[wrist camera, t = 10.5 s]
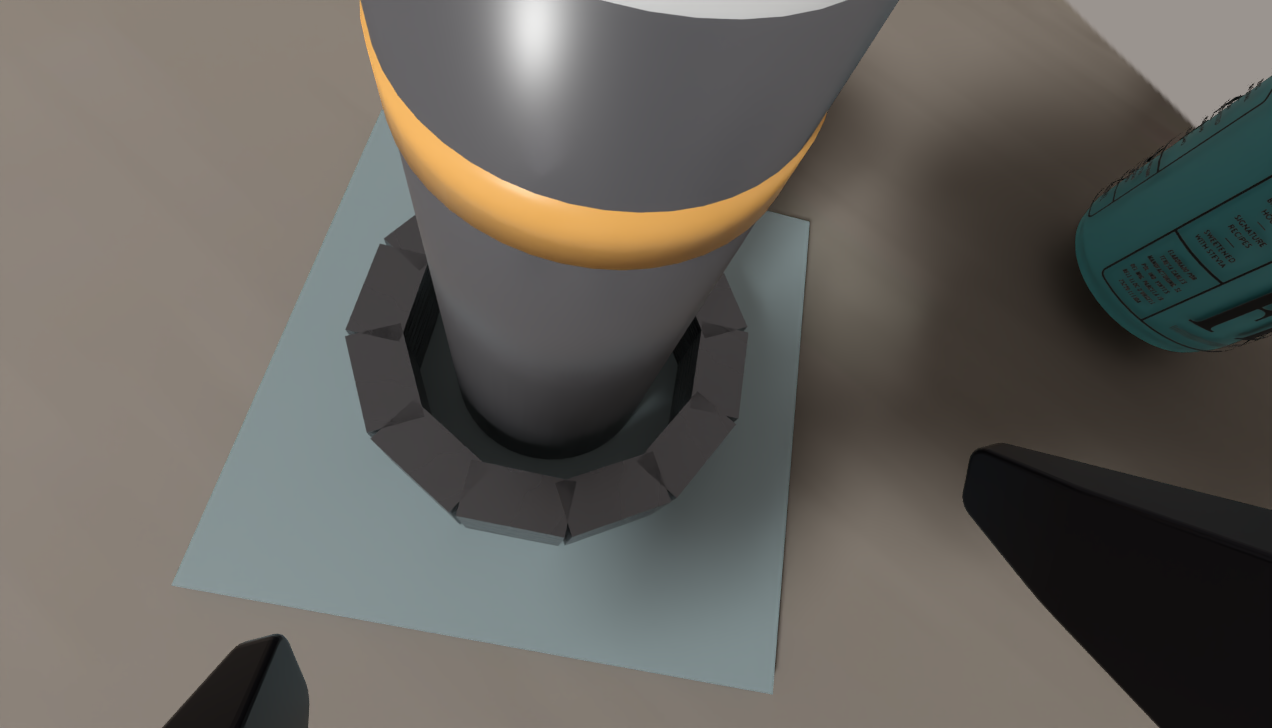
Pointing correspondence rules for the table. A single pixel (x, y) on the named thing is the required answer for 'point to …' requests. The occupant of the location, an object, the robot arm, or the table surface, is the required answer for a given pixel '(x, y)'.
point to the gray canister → (594, 179)
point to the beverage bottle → (1190, 235)
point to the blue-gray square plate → (496, 564)
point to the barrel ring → (510, 498)
